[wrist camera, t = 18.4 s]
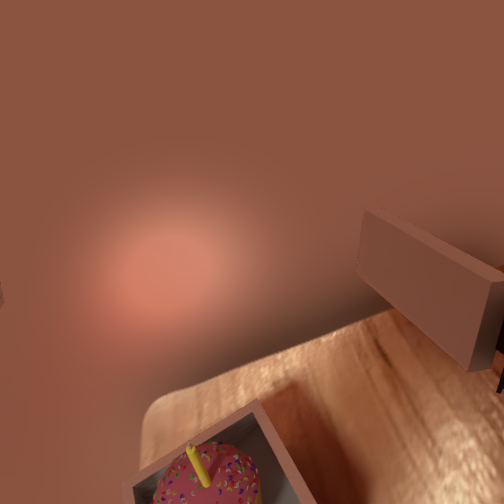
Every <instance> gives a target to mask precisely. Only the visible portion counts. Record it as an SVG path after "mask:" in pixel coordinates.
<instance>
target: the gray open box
mask: <svg viewBox="0 0 504 504" xmlns="http://www.w3.org/2000/svg"><path fill="white" fill-rule="evenodd" d="M232 446H234V447H235V448H236V449H238V450H239V451H241V452H242V453H244V454H246V455H247V456H249V457H250V458H251V459H252V460H253V461H254V463H255V464H256V467H257V469H258V472H259V479H260V484H261V486H260V488H261V498H262V504H301V503H300V501H299V499H298V497H297V495H296V493H295V491H294V489H293V488H292V486H291V484H290V482H289V480H288V478H287V476H286V474H285V472H284V471H283V469H282V467H281V465H280V463H279V461H278V459H277V457H276V455H275V453H274V452H273V450H272V448H271V446H270V444H269V442H268V440H267V438H266V436H265V435H264V433H263V431H262V429H261V427H260V428H259V429H257V430H256V431H254V432H253V433H251V434H249V435H248V436H246V437H245V438H243V439H242V440H240V441H238V442H237V443H235V444H234V445H232ZM153 496H154V495H153ZM153 496H152V497H150V498H149V499H147V500H146V503H147V504H150V503H151V502H152V500H153Z"/></svg>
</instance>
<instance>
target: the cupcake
mask: <svg viewBox="0 0 504 504" xmlns="http://www.w3.org/2000/svg"><path fill="white" fill-rule="evenodd" d="M168 466H169V467H168V468H167V470H166V471H165V473H164V474H163V475H162V476H161V479H160V480H159V481H158V486H156V488H155V492H154V496H153V500H152V502H151V503H150V504H262V498H261V488H260V486H261V484H260V479H259V472H258V469H257V467H256V464H255V463H254V461H253V460H252V459H251V458H250V457H249V456H247V455H246V454H244V453H242V452H241V451H239V450H238V449H236V448H235V447H234V446H231V445H229V444H227V442H224V443H223V442H221V441H220V442H217V441H215V442H212V441H211V440H210V442H208V443H204V444H201V445H200V444H199V445H198V446H194V445H193V444H191V441H190V440H189V441H188V446H187V447H186V451H185V452H184V453H182V454H181V455H179V456H178V457H177V458H174V459H173V461H172V463H170V464H169V465H168Z"/></svg>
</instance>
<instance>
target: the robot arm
mask: <svg viewBox="0 0 504 504" xmlns="http://www.w3.org/2000/svg"><path fill="white" fill-rule="evenodd" d="M355 273H356V274H357V275H359V276H360V277H361V278H362V279H363V280H364V281H365V282H366V283H367V284H369V285H370V286H371V287H372V288H373V289H374V290H375V291H376V292H378V293H379V294H380V295H381V296H382V297H383V298H384V299H385V300H387V301H388V302H389V303H390V304H391V305H392V306H393V307H394V308H396V309H397V310H398V311H399V312H400V313H401V314H402V315H403V316H405V317H406V318H407V319H408V320H409V321H410V322H411V323H412V324H414V325H415V326H416V327H417V328H418V329H419V330H420V331H422V332H423V333H424V334H425V335H426V336H427V337H428V338H429V339H431V340H432V341H433V342H434V343H435V344H436V345H437V346H438V347H440V348H441V349H442V350H443V351H444V352H445V353H446V354H447V355H449V356H450V357H451V358H452V359H453V360H454V361H455V362H456V363H458V364H459V365H460V366H461V367H462V368H463V369H464V370H465V371H467V372H472V371H479V370H485V369H491V365H492V362H493V358H494V355H495V352H496V349H497V350H498V351H500V352H501V353H502V354H504V273H503V272H501V271H499V270H497V269H495V268H493V267H491V266H490V265H488V264H486V263H484V262H482V261H480V260H478V259H476V258H474V257H473V256H471V255H469V254H467V253H465V252H463V251H461V250H459V249H458V248H456V247H454V246H452V245H450V244H448V243H446V242H445V241H443V240H441V239H439V238H437V237H435V236H433V235H431V234H429V233H427V232H426V231H424V230H422V229H420V228H418V227H416V226H415V225H413V224H411V223H409V222H407V221H405V220H403V219H401V218H400V217H398V216H396V215H394V214H392V213H390V212H388V211H386V210H385V209H383V208H370V209H369V208H367V209H364V213H363V220H362V228H361V235H360V242H359V249H358V257H357V264H356V271H355ZM3 304H4V298H3V293H2V288H1V283H0V309H1V307H2V305H3ZM502 389H504V368H503V372H502V375H501V378H500V381H499V385H498V388H497V391H496V393H500V394H501V392H502Z"/></svg>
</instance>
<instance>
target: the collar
mask: <svg viewBox="0 0 504 504" xmlns="http://www.w3.org/2000/svg"><path fill="white" fill-rule="evenodd" d="M260 427H261V429H262V431H263V433H264V435H265V436H266V438H267V440H268V442H269V444H270V446H271V448H272V450H273V452H274V453H275V455H276V457H277V459H278V461H279V463H280V465H281V467H282V469H283V471H284V472H285V474H286V476H287V478H288V480H289V482H290V484H291V486H292V488H293V489H294V491H295V493H296V495H297V497H298V499H299V501H300V503H301V504H317V503H316V501H315V499H314V497H313V496H312V494H311V492H310V490H309V489H308V487H307V485H306V483H305V481H304V480H303V478H302V476H301V474H300V473H299V471H298V469H297V467H296V465H295V464H294V462H293V460H292V458H291V457H290V455H289V453H288V451H287V449H286V448H285V446H284V444H283V442H282V441H281V439H280V437H279V435H278V433H277V432H276V430H275V428H274V426H273V425H272V423H271V421H270V419H269V417H268V416H267V414H266V412H265V410H264V409H263V407H262V405H261V403H260V401H259V400H258V398H257V399H255V400H254V401H252V402H250V403H249V404H247V405H246V406H244V407H242V408H241V409H239V410H238V411H236V412H234V413H233V414H231V415H230V416H228V417H226V418H225V419H223V420H222V421H220V422H218V423H217V424H215V425H213V426H212V427H210V428H209V429H207V430H205V431H204V432H202V433H201V434H199V435H197V436H196V437H194V438H193V439H191V440H190V441H191V444H193V445H194V446H198V445H199V444H200V445H201V444H204V443H208V442H210V440H211V441H212V442H215V441H217V442H220V441H221V442H223V443H224V442H227V444H229V445H231V446H232V445H234V444H235V443H237V442H238V441H240V440H242V439H243V438H245V437H246V436H248V435H249V434H251V433H253V432H254V431H256V430H257V429H259V428H260ZM187 446H188V442H186V443H185V444H183V445H181V446H180V447H178V448H177V449H175V450H173V451H172V452H170V453H168V454H167V455H165V456H164V457H162V458H160V459H159V460H157V461H156V462H154V463H152V464H151V465H149V466H148V467H146V468H144V469H143V470H141V471H140V472H138V473H136V474H135V475H134V476H132V477H130V478H128V479H127V480H125V481H123V482H122V483H121V491H122V498H123V504H147V503H146V500H147V499H149V498H150V497H152V496H153V495H154V492H155V488H156V486H158V481H159V480H160V479H161V476H162V475H163V474H164V473H165V471H166V470H167V468H168V467H169V466H168V465H169V464H170V463H172V461H173V459H174V458H177V457H178V456H179V455H181V454H182V453H184V452H185V451H186V447H187Z"/></svg>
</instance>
